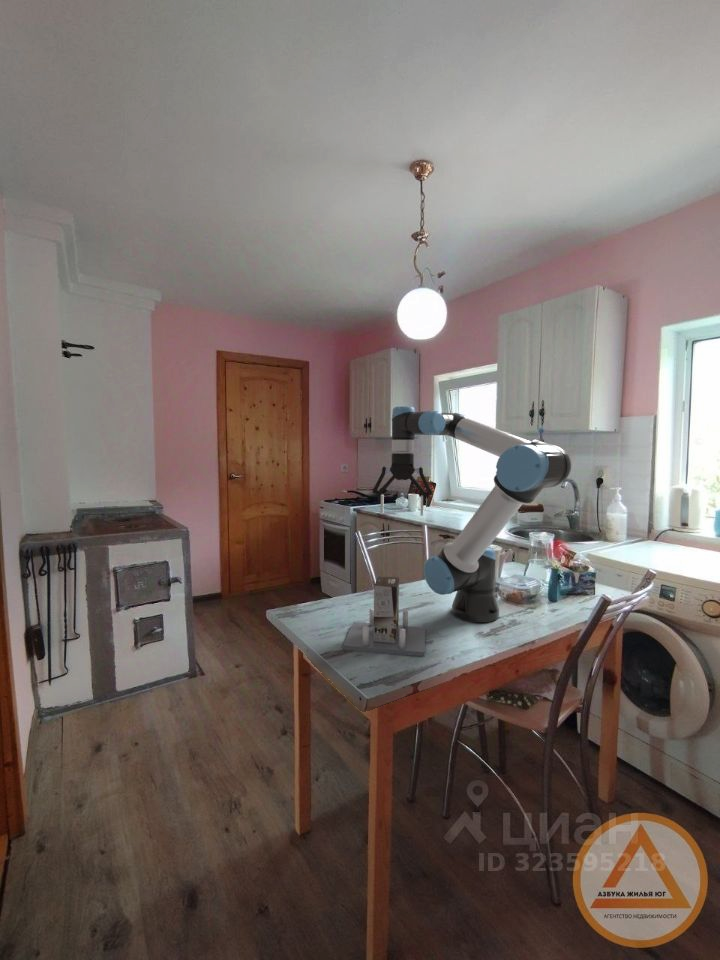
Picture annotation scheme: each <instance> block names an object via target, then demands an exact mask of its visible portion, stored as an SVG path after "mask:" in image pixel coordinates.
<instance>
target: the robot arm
mask: <svg viewBox="0 0 720 960" xmlns="http://www.w3.org/2000/svg"><path fill="white" fill-rule="evenodd" d="M391 415H392V416H391V452H393V453H392V454H391V465H390V467H388V466H385V465H384V466H383V467H382V468H381V472H380V475H379V478H378V480H377V482H376V483H375V485H374V488H372V494H375V495H377V505H380V515H384V513H385V512H384V506H385V504H384V501H385V500H384V499H385V498H384V497H385V495H384V494H383V492H385V491H386V489H387V488H388V487H389V485H391V484H392V482H393V481H394V480H397V481H402V480H403V481H408V480H409V481H411V483H412V484H413V485H414V487H416V489H417V490H418V491H419V492H420V493H421V496H420V516H424V506H427V498H428V496H429V495H432V494H433V491H432V489H431V487H430V485H429V483H428V480H427V478H426V476H425V474H424V470H423V467H422V466H419V467H415V465H414V463H415V460H414V457H415V455H414V453H413V452H414V451H415V436H446V437H450V438H453V439H455V440H459V441H461V442H463V443H466V444H468V445H470V446H473V447H475V448H477V449H480V450H483V451H485V452H487V453H489V454H490V455H491V454H492V455H494V456H497V457H498V459H497V462H496V464H495V465H496V466H495V468H496V471H495V475H494V476H493V482H494V487H493V488H492V489H491V491H489V494H487V496H486V498H485V499H484V500H483V502H482V503H481V504H480V505H479V507H478V509H477V510H476V511H475V513H474V514H473V516H471V517H470V519H469V521H468V522H467V523H466V525H465V526H464V528H462V530H461V531H460V533H459V534H458V535H457V537H456V538H455V540H454V541H452V542H451V541H449V542H447V543H446V544H445V545H444V546H443V548H442V549H441V550H440V552H439V553H438V554H437V555H433V556H431V557H429V558H428V559H426V561H425V563H424V565H423V574H424V579H425V582H426V584H427V585H428V588H430V590H432V591H433V592H434V593H435V594H438V595H444V596H445V595H451V594H452V593H456V594H455V596H454V599H453V601H452V605H451V613H452V615H454V617H456V618H458V619H459V620H463V621H467V622H471V623H479V622H481V623H483V622H484V623H491V621H492V622H494V620H495V621H496V619H497V618H498V617H499V618H500V608H499V604H498V601H497V598H496V594H495V580H496V579H495V578H496V575H495V574H496V561H497V559H496V551H495V549H494V548H493V547H491V546H490V545H492V543H493V542H494V540H495V539H496V538H497V537H498V535H499V534H500V533H501V532H502V531H503V529H504V528H505V527H506V525H507V524H508V523H509V522H510V520H512V518H513V517H514V516H515V514H516V513H517V512H518V511H519V509H520V508H521V507H522V505H530V504H532V502H534V501H535V499H536V498H537V497H538V495H540V493H541V492H542V491H543V490H544V489H547V488H548V489H549V488H553V487H554V488H555V487H556V486H557V487H558V485H561V484H563V483H564V482H565V481H566V480H567V478H568V477H569V475H570V474H571V471H572V461H571V458H570V455H569V454H568V452H567V451H565V450H564V448H562V447H560V446H558V445H556V444H550V443H547V442H543V441H541V440H539V439H533V440H532V441H531V440H527V439H525V438H522V437H519V436H517V435H514V434H511V433H509V432H506V431H503V430H500V429H498V428H496V427H492V426H489V425H486V424H484V423H481V422H478V421H476V420H472V419H470V418H467V416H466V415H465V414H462V413H458V412H440V411H438V410H425V411H416V410H415V407H413V406H409V405H408V406H407V405H406V406H405V405H404V406H403V405H402V406H394V408H393V409H392V414H391ZM389 472H390V473H391V474H392V476H391V477H390V478H389V479H388V480H387V482H386V483H385V484H384V485H382V487H381V488H380V489H379V487H380V485H381V483H382V481H383V480H384V478H385V475H386V474H388V473H389ZM415 472H416V474H418V475H419V476H420V479H421V480H422V481H421V482H422V483H423V485H424V487H425V488H426V490H424V488H423V487H422V486H421V484H420V483H419V481H417V479H415V477H414V476H413V474H414V473H415ZM499 618H498V619H499ZM498 619H497V620H498ZM481 623H480V624H481Z"/></svg>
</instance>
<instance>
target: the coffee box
mask: <svg viewBox="0 0 720 960" xmlns="http://www.w3.org/2000/svg"><path fill="white" fill-rule="evenodd" d="M373 588H374V589H373V608H374V634H373V641H375V642H385V643H395V642H396V638H397V634H398V625H399V621H400V619H399V618H400V617H399V613H400V612H399V610H400V609H399V604H400V603H399V602H400V599H399V598H400V577H398V576H396V577H395V576H378V577H377V579H376V581H375V583H374V587H373Z"/></svg>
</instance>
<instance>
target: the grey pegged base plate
mask: <svg viewBox="0 0 720 960" xmlns="http://www.w3.org/2000/svg"><path fill="white" fill-rule="evenodd" d="M368 619H369V620H368V621H369V622H361V621H360V622H359V621H353V622H352V624H351V627H350V629H349V631H348V633H347V636H346V638H345V640H344V642H343V644H342V650H344V651H355V652H356V651H357V652H365V653H367V652H368V653H378V654H389V655H391V654H393V655H402V656H404V655H405V656H413V657H414V656H416V657H425V655H426V654H425V653H426V651H425V650H426V648H425V647H426V626H416V625H415V626H414V625H409V611H408V610H402V624H398V634H397V638H396V642H395V643H385V642H375V641H373V634H374V607H371V608H369V618H368Z"/></svg>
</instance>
